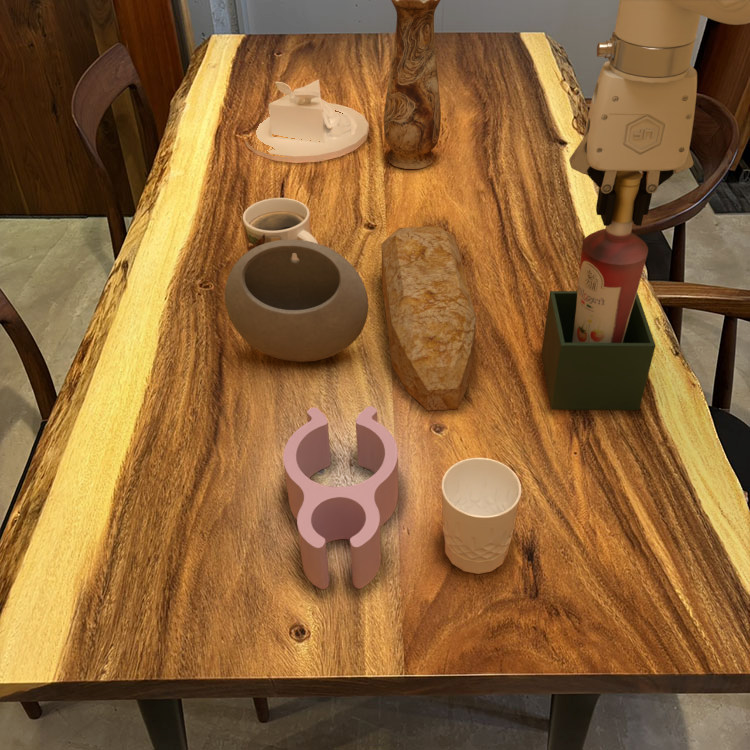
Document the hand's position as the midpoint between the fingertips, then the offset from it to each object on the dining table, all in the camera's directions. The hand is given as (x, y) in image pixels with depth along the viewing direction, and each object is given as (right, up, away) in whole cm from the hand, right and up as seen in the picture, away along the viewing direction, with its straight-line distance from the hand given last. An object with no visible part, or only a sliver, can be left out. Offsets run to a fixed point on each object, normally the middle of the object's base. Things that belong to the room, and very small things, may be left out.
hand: (620, 218), depth 94 cm
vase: (-20, +23, +65) cm, 72 cm away
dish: (-41, +31, +74) cm, 90 cm away
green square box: (+1, -18, +16) cm, 24 cm away
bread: (-20, -10, +26) cm, 35 cm away
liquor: (+1, -17, +15) cm, 23 cm away
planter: (-37, -15, +21) cm, 46 cm away
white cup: (-17, -36, -4) cm, 40 cm away
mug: (-41, -3, +35) cm, 54 cm away
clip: (-31, -33, 0) cm, 45 cm away
